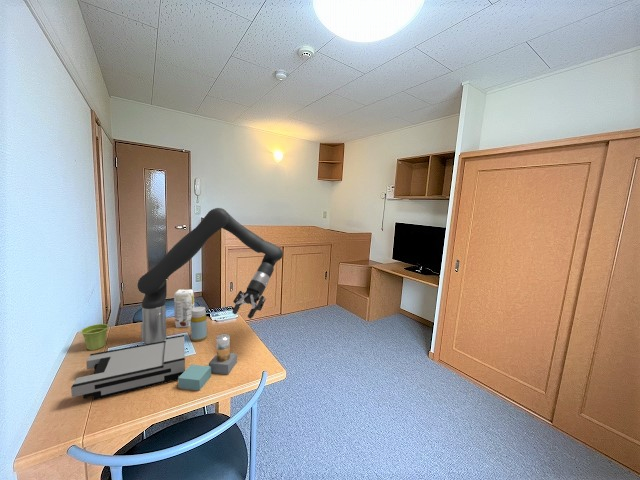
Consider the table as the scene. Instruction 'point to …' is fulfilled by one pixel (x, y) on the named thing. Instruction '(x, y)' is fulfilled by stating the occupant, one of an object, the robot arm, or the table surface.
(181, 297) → the juice carton
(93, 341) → the plant pot
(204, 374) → the stand
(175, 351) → the office tray
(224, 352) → the salt shaker
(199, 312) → the bottle
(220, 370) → the stand
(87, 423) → the table surface
